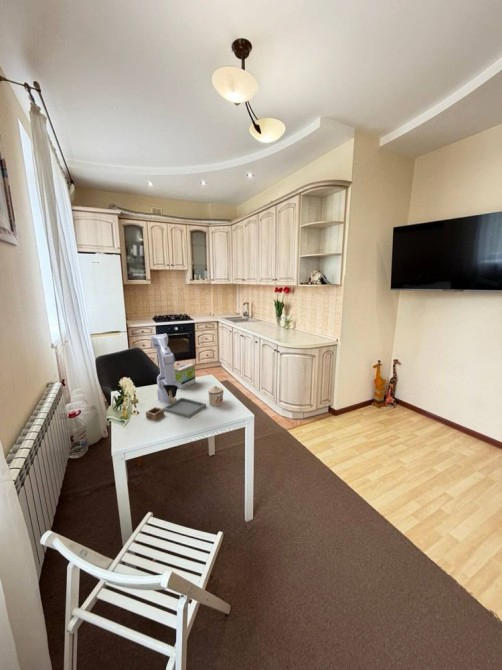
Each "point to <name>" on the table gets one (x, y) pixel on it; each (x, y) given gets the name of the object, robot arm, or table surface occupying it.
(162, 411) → the wooden roll holder
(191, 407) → the tray
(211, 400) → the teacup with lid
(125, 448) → the table surface
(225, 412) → the table surface
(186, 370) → the tea box
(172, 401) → the dowel
